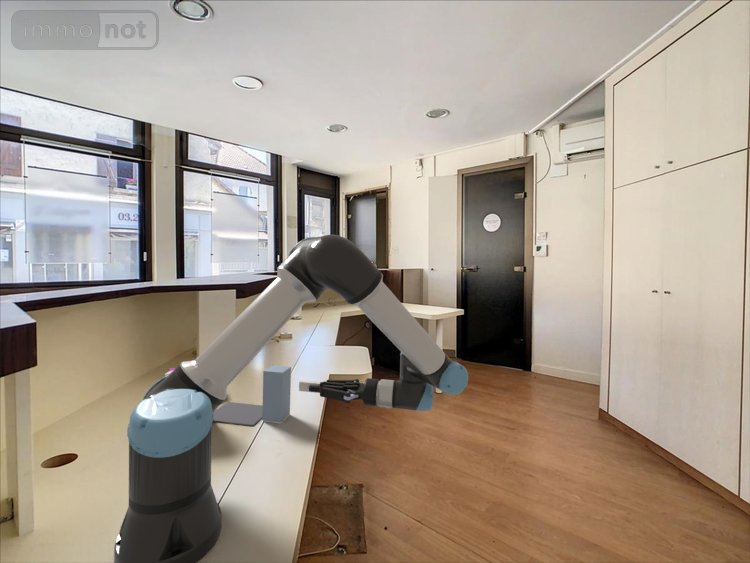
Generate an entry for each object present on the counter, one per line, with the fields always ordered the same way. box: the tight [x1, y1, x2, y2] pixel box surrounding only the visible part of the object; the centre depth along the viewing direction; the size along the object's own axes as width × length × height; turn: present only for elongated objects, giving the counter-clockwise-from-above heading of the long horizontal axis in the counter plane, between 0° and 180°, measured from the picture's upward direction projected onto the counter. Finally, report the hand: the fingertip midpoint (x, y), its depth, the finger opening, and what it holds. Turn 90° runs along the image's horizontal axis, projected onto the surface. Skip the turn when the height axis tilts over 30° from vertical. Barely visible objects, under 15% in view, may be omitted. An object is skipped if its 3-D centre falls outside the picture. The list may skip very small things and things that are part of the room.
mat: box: [212, 401, 263, 427], centre depth 104 cm, size 13×16×1 cm
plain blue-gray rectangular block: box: [261, 365, 292, 424], centre depth 102 cm, size 6×6×15 cm
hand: (300, 385), depth 101 cm, fingers closed
